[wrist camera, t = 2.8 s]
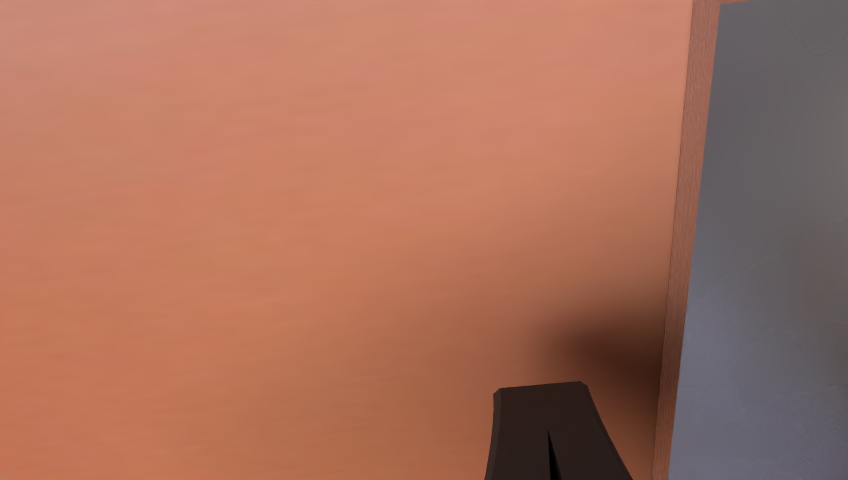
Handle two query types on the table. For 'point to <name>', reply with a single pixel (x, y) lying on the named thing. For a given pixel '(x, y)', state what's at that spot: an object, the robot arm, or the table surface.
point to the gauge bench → (759, 249)
